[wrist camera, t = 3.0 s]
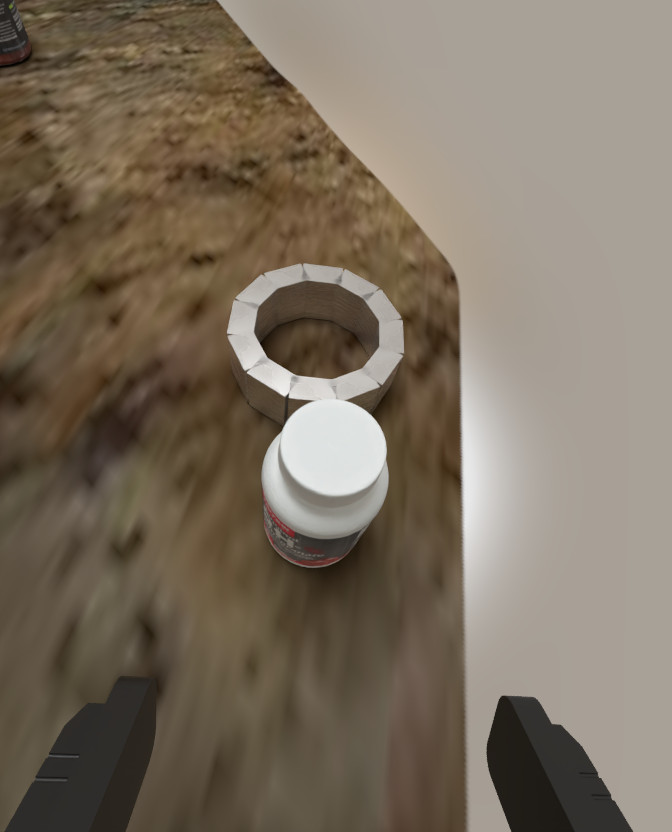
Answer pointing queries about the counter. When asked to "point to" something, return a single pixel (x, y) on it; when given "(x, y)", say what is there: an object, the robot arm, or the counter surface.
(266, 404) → the ring collar
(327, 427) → the pill bottle
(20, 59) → the supplement bottle
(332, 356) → the counter surface
